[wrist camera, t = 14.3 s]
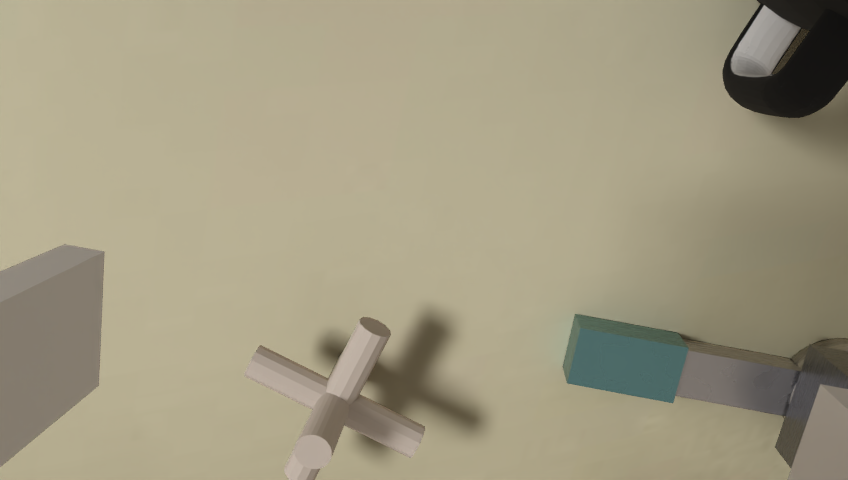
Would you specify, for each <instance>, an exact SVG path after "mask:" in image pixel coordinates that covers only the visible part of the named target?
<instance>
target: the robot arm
mask: <svg viewBox="0 0 848 480" xmlns="http://www.w3.org/2000/svg"><path fill="white" fill-rule="evenodd" d="M103 274H104V251H98V250H93V249H88V248H82V247H77V246H71V245H66V244H64V245H62V246H59V247H57V248H55V249H52V250H50V251H48V252H45V253H43V254H40V255H38V256H36V257H33V258H31V259H29V260H26V261H24V262H22V263H19V264H17V265H15V266H12V267H10V268H7V269H5V270H3V271H0V467H1V466H2V465H3V464H5V463H6V462H7V461H8V460H9V459H11V458H12V457H13V456H14V455H15V454H17V453H18V452H19V451H20V450H22V449H23V448H24V447H25V446H26V445H28V444H29V443H30V442H31V441H32V440H34V439H35V438H36V437H37V436H38V435H40V434H41V433H42V432H43V431H44V430H46V429H47V428H48V427H49V426H51V425H52V424H53V423H54V422H55V421H57V420H58V419H59V418H60V417H61V416H63V415H64V414H65V413H66V412H67V411H69V410H70V409H71V408H72V407H73V406H75V405H76V404H77V403H78V402H80V401H81V400H82V399H83V398H84V397H86V396H87V395H88V394H89V393H90V392H92V391H93V390H94V389H95V388H96V387H98V386H99V369H100V346H101V322H102V298H103ZM787 480H848V389H844V388H839V387H833V386H828V385H822V384H820V387H819V390H818V393H817V395H816V398H815V401H814V404H813V407H812V410H811V413H810V416H809V419H808V421H807V424H806V427H805V430H804V433H803V436H802V439H801V442H800V445H799V447H798V450H797V453H796V456H795V459H794V462H793V465H792V468H791V471H790V473H789V476H788V479H787Z"/></svg>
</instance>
